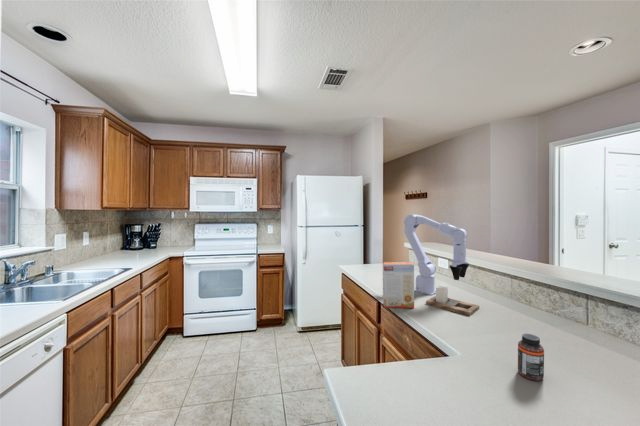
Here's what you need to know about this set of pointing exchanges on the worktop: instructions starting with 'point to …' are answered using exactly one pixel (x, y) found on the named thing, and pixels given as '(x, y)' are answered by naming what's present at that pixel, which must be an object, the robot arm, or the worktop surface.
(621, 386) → the worktop surface
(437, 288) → the plug
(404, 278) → the cracker box
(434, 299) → the socket panel
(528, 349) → the supplement bottle
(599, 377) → the worktop surface
